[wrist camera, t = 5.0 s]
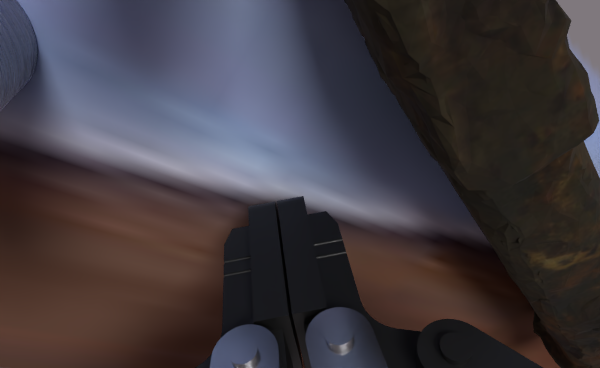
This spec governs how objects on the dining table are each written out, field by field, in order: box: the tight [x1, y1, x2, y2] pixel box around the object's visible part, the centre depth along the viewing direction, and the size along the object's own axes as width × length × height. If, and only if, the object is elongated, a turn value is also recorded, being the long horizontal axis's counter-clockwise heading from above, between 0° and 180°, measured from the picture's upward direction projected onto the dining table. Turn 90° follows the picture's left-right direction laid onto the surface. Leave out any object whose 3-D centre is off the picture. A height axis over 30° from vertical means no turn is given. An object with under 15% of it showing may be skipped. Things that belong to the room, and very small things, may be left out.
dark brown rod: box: [344, 0, 600, 368], centre depth 10 cm, size 19×4×5 cm, turn 35°
